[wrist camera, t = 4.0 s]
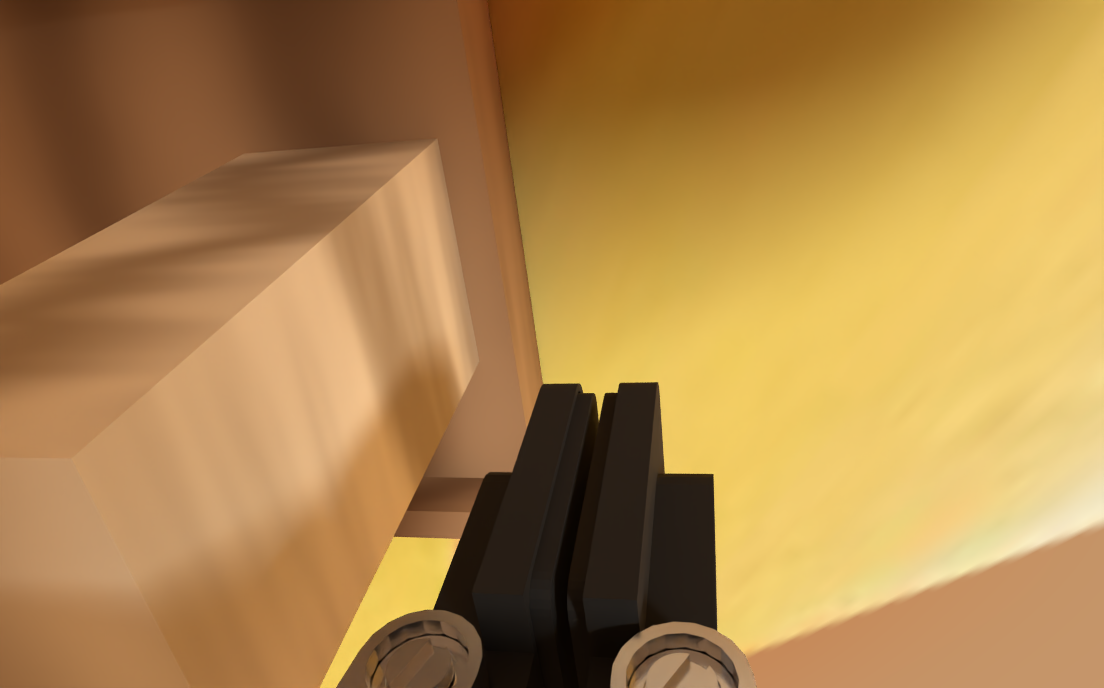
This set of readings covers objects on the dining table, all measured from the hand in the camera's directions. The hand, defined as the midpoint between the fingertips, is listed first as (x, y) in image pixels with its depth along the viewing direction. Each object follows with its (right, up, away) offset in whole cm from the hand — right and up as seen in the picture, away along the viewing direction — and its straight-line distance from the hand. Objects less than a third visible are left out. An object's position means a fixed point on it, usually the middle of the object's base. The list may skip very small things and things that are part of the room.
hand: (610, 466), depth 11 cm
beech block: (-6, +4, +8) cm, 11 cm away
